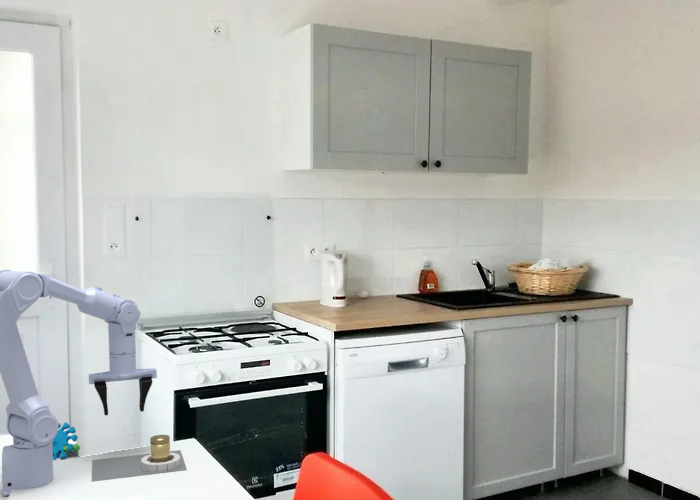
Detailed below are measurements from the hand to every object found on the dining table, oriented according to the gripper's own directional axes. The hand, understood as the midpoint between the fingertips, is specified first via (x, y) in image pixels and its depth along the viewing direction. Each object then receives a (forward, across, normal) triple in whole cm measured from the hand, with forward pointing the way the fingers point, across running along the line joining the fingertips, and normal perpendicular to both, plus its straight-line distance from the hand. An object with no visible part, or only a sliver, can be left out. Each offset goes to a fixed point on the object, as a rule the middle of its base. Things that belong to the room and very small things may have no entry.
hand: (124, 412), depth 166 cm
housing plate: (+10, +2, -9) cm, 14 cm away
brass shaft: (+9, +6, -11) cm, 16 cm away
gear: (+11, -14, +6) cm, 19 cm away
